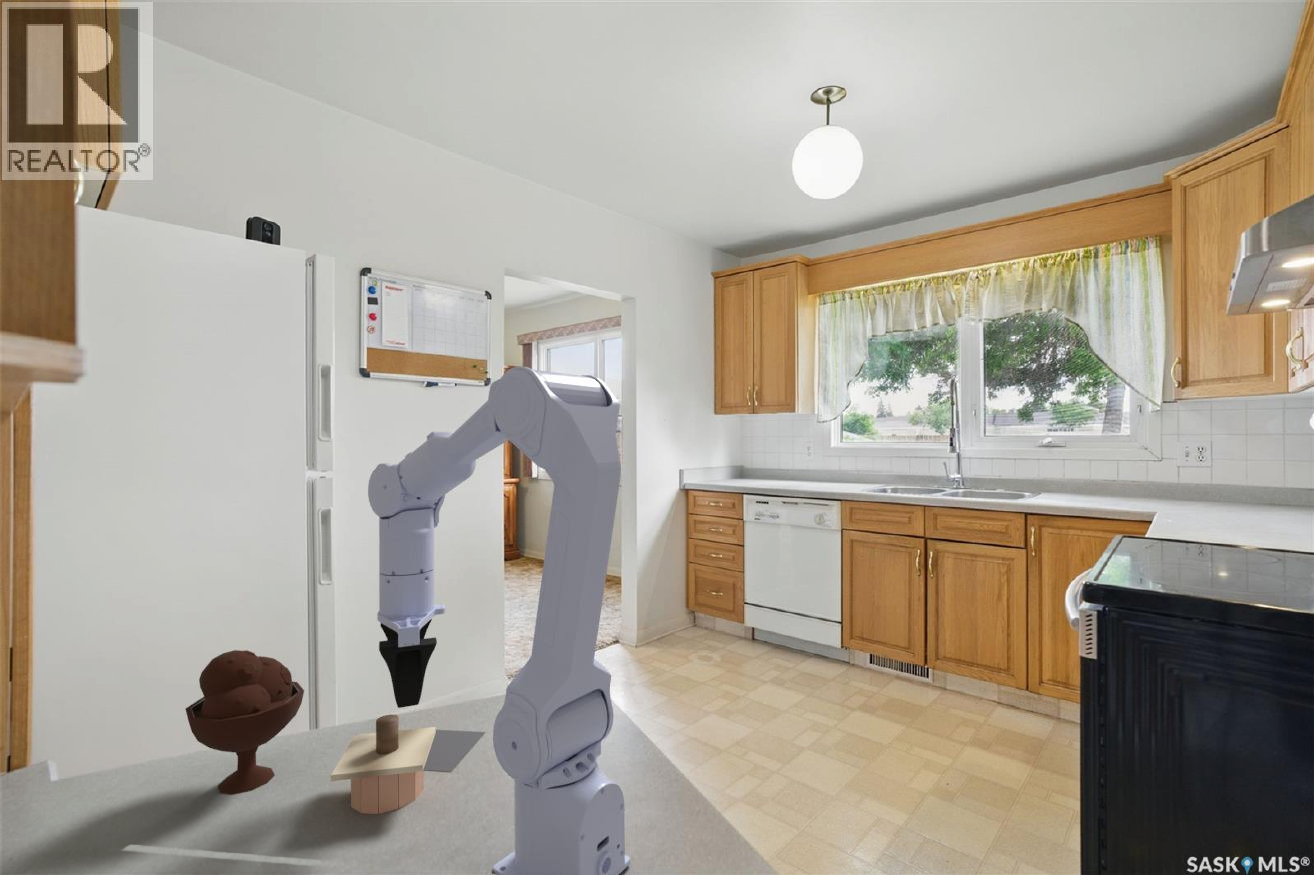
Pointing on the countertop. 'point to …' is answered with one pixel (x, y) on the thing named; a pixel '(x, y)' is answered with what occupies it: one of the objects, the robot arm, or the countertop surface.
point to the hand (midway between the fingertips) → (407, 692)
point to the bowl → (385, 792)
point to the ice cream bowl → (243, 712)
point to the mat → (450, 749)
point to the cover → (385, 751)
